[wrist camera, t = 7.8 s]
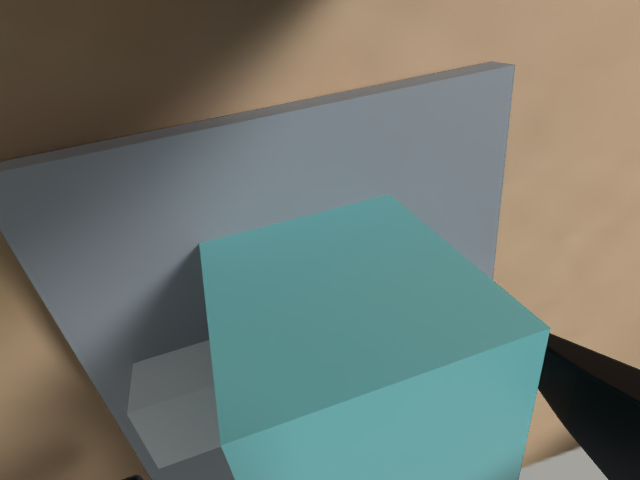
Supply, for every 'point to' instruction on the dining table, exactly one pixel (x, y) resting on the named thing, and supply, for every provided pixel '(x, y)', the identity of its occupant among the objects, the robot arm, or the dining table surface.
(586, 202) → the dining table surface
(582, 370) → the robot arm
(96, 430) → the dining table surface
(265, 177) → the board
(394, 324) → the block
